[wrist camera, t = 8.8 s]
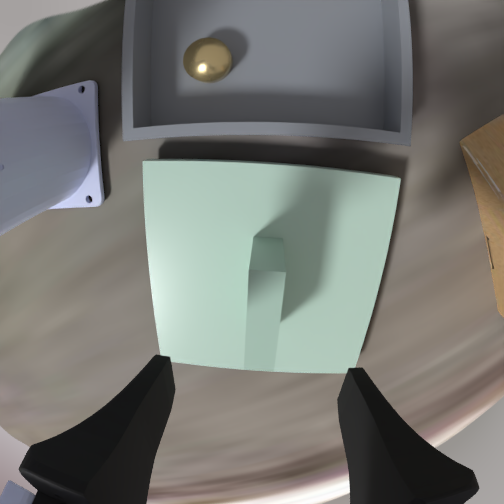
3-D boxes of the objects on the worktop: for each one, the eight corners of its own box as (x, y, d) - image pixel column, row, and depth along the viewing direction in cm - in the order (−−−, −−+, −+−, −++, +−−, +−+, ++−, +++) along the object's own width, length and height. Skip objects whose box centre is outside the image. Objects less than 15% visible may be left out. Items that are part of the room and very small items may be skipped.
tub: (145, 136, 17) (123, 141, 14) (153, -60, 11) (137, -80, 8) (389, 141, 16) (410, 146, 13) (379, -59, 10) (393, -80, 8)
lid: (166, 348, 23) (145, 399, 18) (151, 157, 17) (108, 174, 12) (349, 360, 22) (363, 414, 18) (391, 174, 17) (434, 196, 12)
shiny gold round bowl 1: (188, 85, 15) (183, 82, 14) (188, 45, 14) (182, 40, 13) (233, 82, 15) (230, 79, 14) (232, 41, 14) (230, 35, 13)
